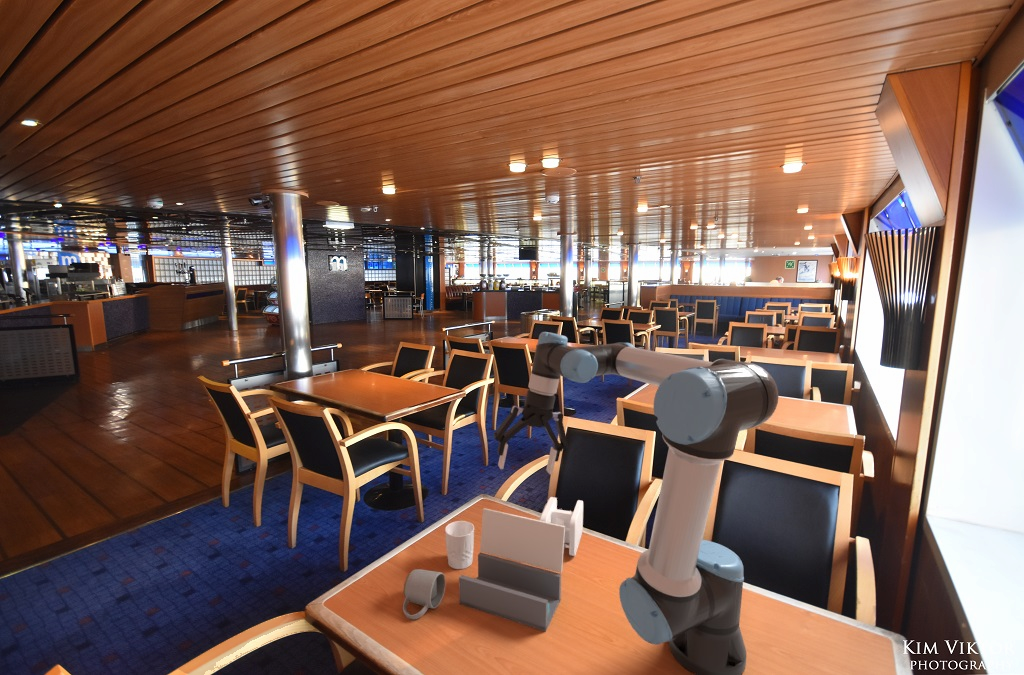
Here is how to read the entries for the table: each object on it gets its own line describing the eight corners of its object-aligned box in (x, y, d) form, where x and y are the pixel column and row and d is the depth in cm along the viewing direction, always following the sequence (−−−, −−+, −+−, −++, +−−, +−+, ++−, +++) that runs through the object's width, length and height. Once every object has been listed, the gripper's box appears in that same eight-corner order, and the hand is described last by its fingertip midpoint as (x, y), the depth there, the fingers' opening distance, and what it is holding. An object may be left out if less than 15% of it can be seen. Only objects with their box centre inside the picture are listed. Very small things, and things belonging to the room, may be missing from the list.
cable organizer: (574, 563, 130) (575, 523, 128) (537, 556, 133) (537, 517, 132) (583, 534, 144) (584, 498, 143) (549, 528, 147) (549, 493, 146)
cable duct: (560, 600, 116) (561, 574, 115) (545, 631, 106) (546, 603, 105) (480, 576, 124) (480, 552, 123) (459, 604, 114) (459, 577, 113)
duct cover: (561, 572, 115) (562, 571, 115) (564, 527, 115) (565, 526, 115) (480, 551, 123) (481, 550, 124) (483, 508, 123) (484, 508, 124)
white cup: (470, 572, 126) (469, 537, 125) (442, 569, 127) (441, 534, 126) (477, 555, 134) (477, 522, 132) (450, 552, 135) (450, 519, 134)
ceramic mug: (417, 587, 120) (416, 560, 119) (446, 594, 118) (445, 566, 116) (394, 617, 110) (392, 587, 109) (425, 625, 108) (424, 595, 106)
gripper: (579, 394, 130) (563, 468, 132) (492, 381, 123) (476, 459, 125) (591, 401, 123) (573, 480, 124) (499, 387, 116) (482, 470, 118)
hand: (525, 469), depth 125 cm, fingers open, 13 cm apart
